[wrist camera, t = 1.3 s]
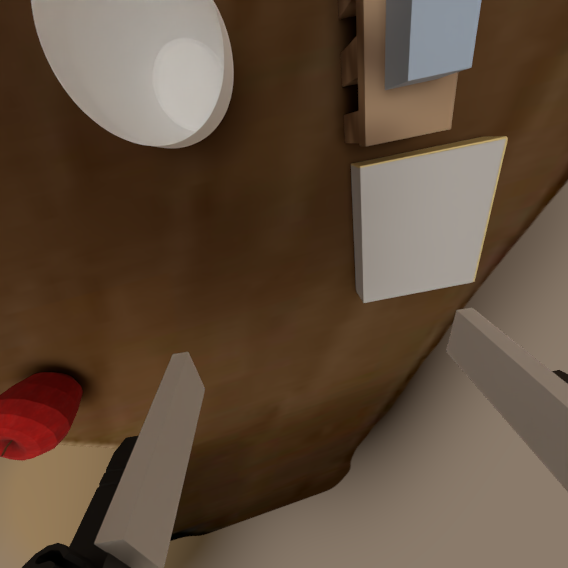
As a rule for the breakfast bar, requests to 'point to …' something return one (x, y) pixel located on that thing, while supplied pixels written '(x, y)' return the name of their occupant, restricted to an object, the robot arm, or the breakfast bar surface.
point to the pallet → (371, 85)
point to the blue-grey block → (428, 39)
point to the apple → (37, 414)
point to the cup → (141, 65)
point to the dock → (423, 216)
